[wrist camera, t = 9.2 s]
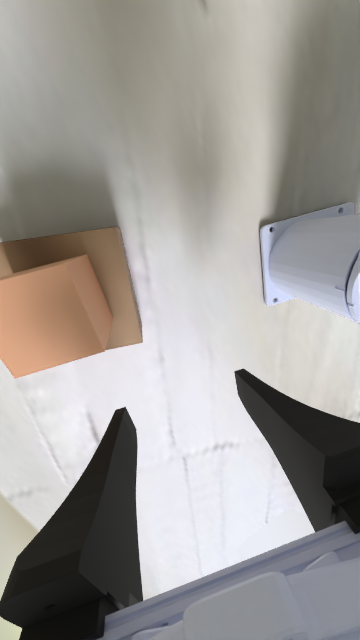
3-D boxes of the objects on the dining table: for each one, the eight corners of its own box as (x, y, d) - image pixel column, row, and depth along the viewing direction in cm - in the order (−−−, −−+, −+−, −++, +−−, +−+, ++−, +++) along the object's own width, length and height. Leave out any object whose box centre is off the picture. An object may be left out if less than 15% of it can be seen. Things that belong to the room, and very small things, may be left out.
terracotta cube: (87, 253, 14) (64, 263, 10) (113, 318, 16) (104, 351, 12) (12, 273, 14) (-48, 293, 9) (49, 337, 16) (15, 378, 11)
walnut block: (120, 228, 18) (115, 226, 14) (141, 324, 21) (142, 342, 18) (6, 244, 17) (-31, 247, 13) (49, 341, 20) (29, 365, 16)
